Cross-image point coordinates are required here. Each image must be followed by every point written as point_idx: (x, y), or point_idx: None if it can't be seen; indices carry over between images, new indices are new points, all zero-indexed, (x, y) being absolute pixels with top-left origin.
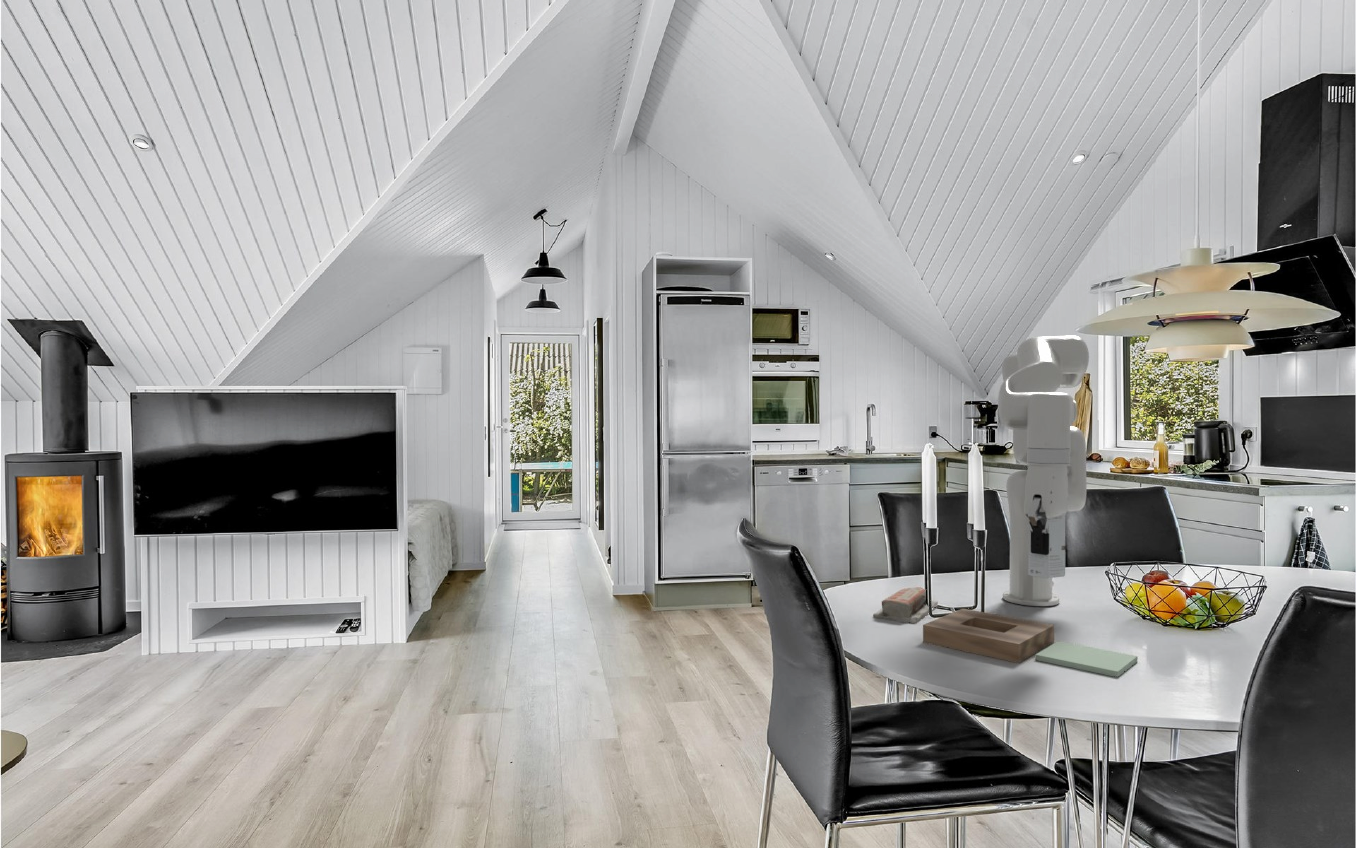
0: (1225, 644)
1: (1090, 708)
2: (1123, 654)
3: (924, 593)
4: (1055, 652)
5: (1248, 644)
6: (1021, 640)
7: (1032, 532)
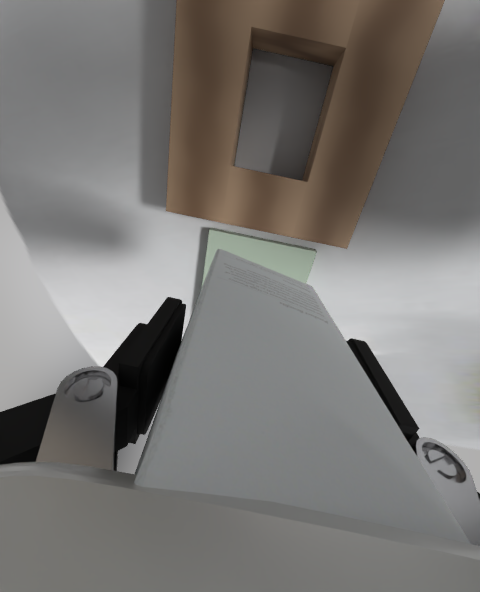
0: (416, 423)
1: (64, 309)
2: None
3: None
4: (240, 256)
5: None
6: (192, 210)
7: (99, 374)
